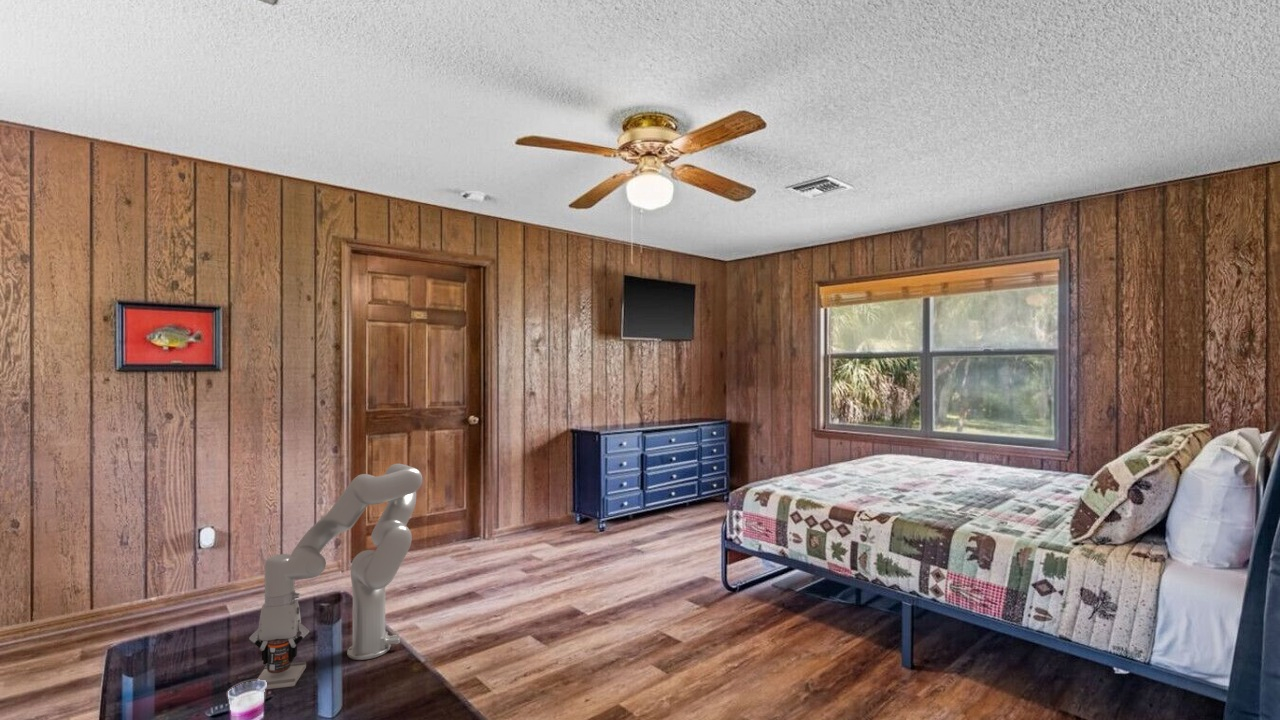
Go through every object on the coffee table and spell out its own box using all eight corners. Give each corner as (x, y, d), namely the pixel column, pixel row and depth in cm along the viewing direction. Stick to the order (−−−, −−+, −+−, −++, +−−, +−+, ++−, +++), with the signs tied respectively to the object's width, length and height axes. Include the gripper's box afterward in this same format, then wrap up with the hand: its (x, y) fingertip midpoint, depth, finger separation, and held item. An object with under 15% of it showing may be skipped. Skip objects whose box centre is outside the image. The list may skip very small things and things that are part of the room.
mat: (306, 667, 183) (306, 661, 183) (294, 685, 172) (294, 679, 172) (265, 671, 180) (265, 666, 180) (250, 691, 169) (251, 684, 169)
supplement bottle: (273, 676, 172) (274, 636, 172) (263, 670, 175) (263, 631, 175) (295, 667, 177) (295, 628, 177) (284, 662, 180) (284, 624, 180)
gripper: (315, 591, 182) (315, 651, 182) (251, 596, 178) (251, 658, 178) (308, 600, 175) (308, 663, 174) (241, 606, 171) (240, 670, 170)
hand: (279, 660), depth 176 cm, fingers closed on supplement bottle, 6 cm apart
